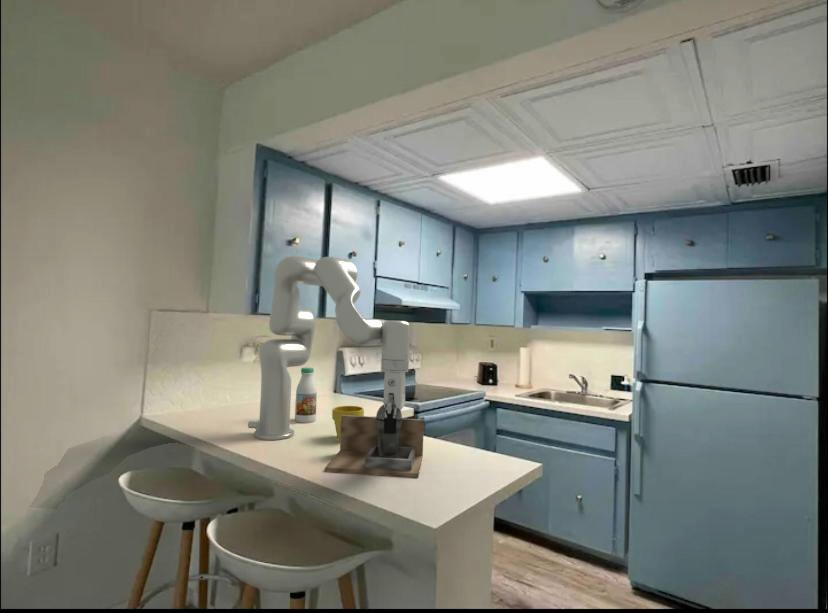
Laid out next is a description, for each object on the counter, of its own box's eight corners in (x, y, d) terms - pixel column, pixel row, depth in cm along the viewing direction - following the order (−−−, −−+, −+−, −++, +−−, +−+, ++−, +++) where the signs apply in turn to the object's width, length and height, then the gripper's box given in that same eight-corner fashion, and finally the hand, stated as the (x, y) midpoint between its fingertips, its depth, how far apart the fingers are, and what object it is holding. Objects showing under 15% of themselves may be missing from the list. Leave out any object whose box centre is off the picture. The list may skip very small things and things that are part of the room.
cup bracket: (324, 471, 114) (326, 428, 114) (340, 452, 129) (342, 415, 130) (418, 477, 111) (419, 433, 112) (422, 458, 127) (423, 419, 128)
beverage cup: (396, 466, 116) (398, 389, 117) (370, 463, 118) (372, 388, 119) (404, 458, 123) (406, 386, 124) (379, 455, 125) (381, 384, 126)
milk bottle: (290, 421, 166) (292, 367, 167) (305, 417, 173) (308, 366, 173) (304, 424, 162) (306, 369, 163) (319, 420, 168) (322, 368, 169)
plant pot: (324, 438, 144) (325, 408, 145) (346, 432, 153) (347, 404, 153) (347, 444, 138) (348, 413, 139) (369, 438, 147) (370, 408, 147)
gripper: (405, 369, 112) (402, 438, 111) (411, 363, 129) (409, 422, 129) (375, 368, 113) (373, 436, 112) (386, 362, 130) (383, 421, 129)
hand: (392, 428), depth 120 cm, fingers open, 9 cm apart
